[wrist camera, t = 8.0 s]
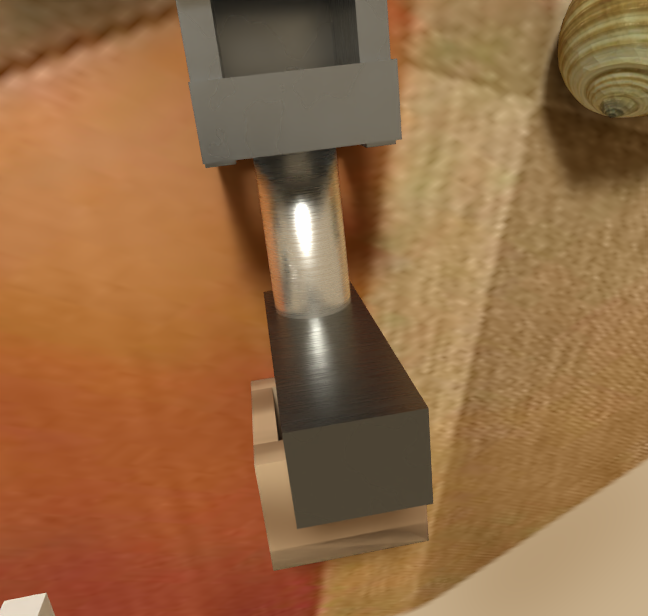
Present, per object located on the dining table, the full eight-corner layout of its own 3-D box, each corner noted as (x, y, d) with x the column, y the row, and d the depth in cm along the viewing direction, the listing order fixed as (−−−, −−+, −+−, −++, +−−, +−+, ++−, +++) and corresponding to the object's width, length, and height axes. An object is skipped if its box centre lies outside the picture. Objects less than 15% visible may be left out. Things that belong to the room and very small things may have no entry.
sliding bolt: (237, 124, 24) (236, 144, 12) (332, 112, 24) (414, 122, 13) (286, 440, 29) (316, 652, 18) (363, 427, 29) (439, 626, 18)
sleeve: (170, -97, 21) (140, -183, 15) (340, -112, 22) (382, -200, 15) (213, 152, 24) (204, 170, 18) (360, 134, 25) (402, 145, 18)
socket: (250, 381, 28) (254, 465, 22) (381, 360, 29) (422, 436, 22) (266, 468, 30) (273, 570, 23) (388, 446, 30) (428, 540, 24)
